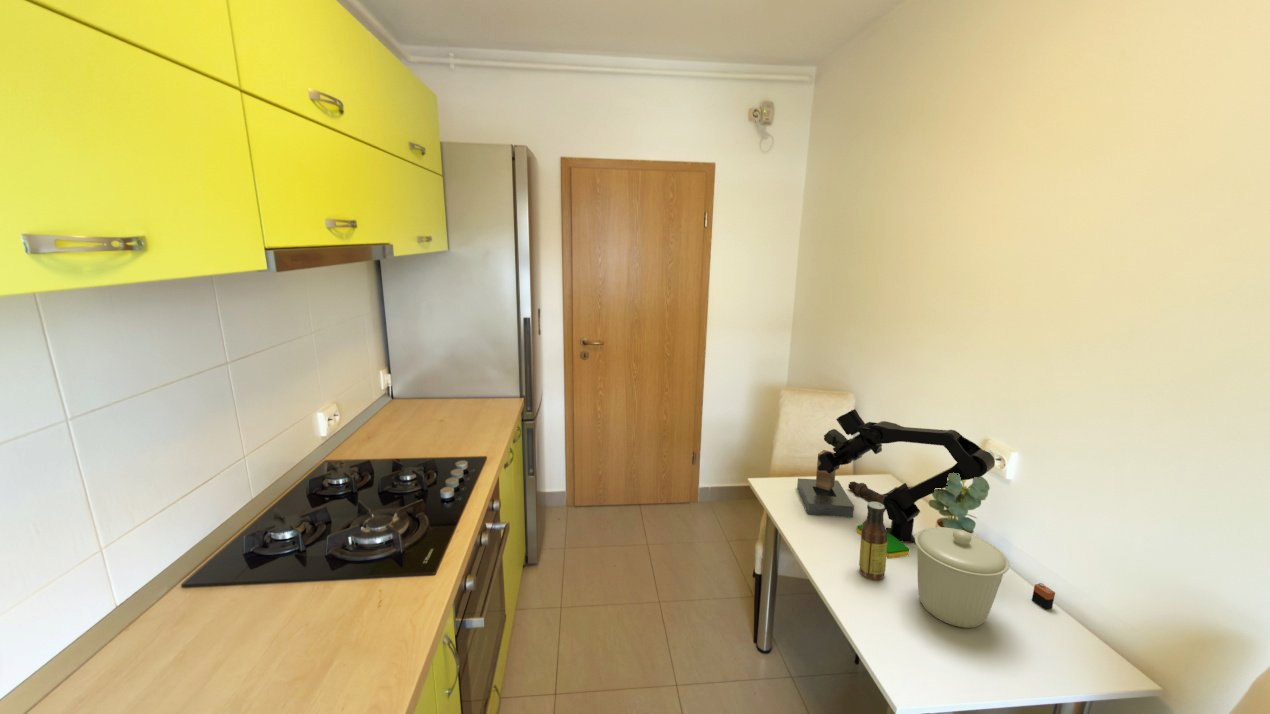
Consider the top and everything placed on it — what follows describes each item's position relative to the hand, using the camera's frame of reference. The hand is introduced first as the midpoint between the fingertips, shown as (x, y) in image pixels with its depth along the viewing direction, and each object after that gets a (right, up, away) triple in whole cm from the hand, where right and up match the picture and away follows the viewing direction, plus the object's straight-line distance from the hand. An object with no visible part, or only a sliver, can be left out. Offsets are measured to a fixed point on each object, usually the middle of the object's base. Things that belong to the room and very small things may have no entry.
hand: (822, 467), depth 160 cm
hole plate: (+1, -12, +2) cm, 13 cm away
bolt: (+17, -12, +4) cm, 22 cm away
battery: (+35, -23, -46) cm, 62 cm away
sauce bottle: (-1, -20, -35) cm, 40 cm away
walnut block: (+1, -7, 0) cm, 7 cm away
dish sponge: (+9, -18, -21) cm, 29 cm away
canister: (+11, -23, -48) cm, 55 cm away
